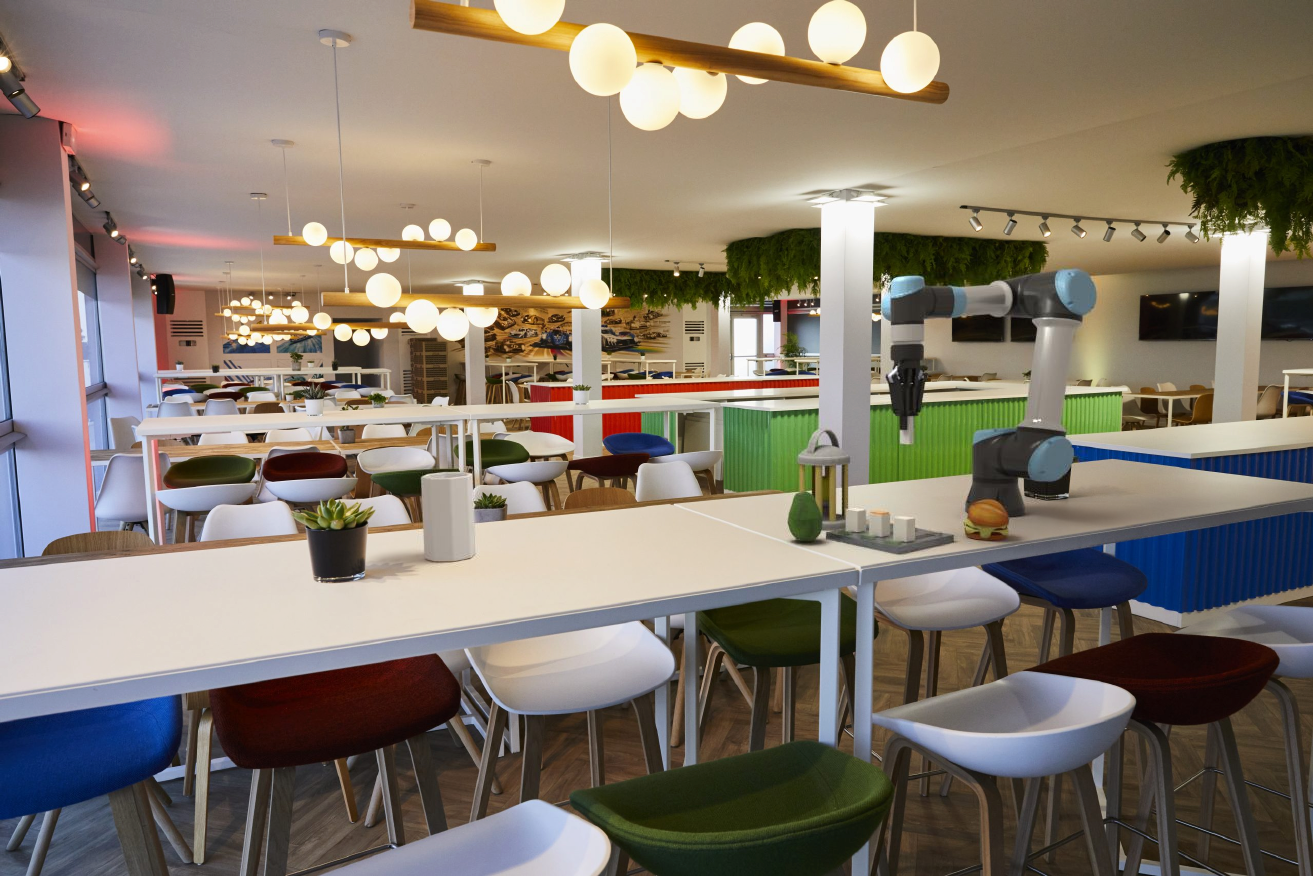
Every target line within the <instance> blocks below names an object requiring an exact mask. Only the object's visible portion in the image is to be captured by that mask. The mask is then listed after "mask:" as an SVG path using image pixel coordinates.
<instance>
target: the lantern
mask: <svg viewBox="0 0 1313 876" xmlns="http://www.w3.org/2000/svg"><path fill="white" fill-rule="evenodd" d="M823 433H825V434H826V435H827V436H828V438H829V440H830V443H831V444H829V445H828V444H819V445H817V442H818V439H819V438H820V437H821V435H822V434H823ZM796 460H797V461H796V463H797V464H799V465H798V467H799V468H798V469H799V470H798V471H799V473H798V474H799V475H798V476H799V477H798V478H799V481H798V482H799V484H798V485H799V486H798V487H799V488H798V489H799V492H801V491H806V466H811V494H812V495H813V496H814V498H815V500H816V503H817V505H818V507H819V510H820V513H821V515H822V523H823V525H822V530H821V532H822V531H826V532H830V531H835V530H838V529H845V528H846V509H849V464H850V463H851V457H850V455H849V454H848V453H847V452H846V451H845V450H844V449H842V448H841V447H840V444H839V440H838V438H837V435H836V434H835V432H834V431H832V430H831V429H828V428H819V429H816V430H815V431H814V432H813V433H812V434H811V437H810V439H809V441H808V444H807V448H804V449H803V450H802V451H801V452H800V453H799V454H798V455H797V459H796ZM823 466H824V475H823ZM837 466H841V514H840V513H837ZM799 492H798V493H799Z"/></svg>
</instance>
